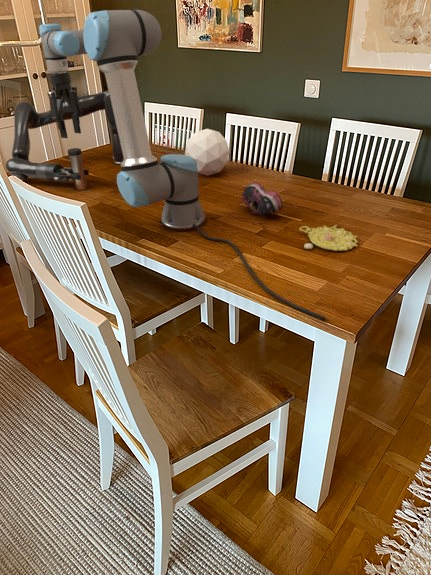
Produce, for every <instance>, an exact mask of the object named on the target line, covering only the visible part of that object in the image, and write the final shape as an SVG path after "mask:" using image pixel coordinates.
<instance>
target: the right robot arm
mask: <svg viewBox="0 0 431 575" xmlns="http://www.w3.org/2000/svg"><path fill="white" fill-rule="evenodd" d="M38 26H39V27H38V29H39V37H40V40H41V44H42V50H43V55H44V58H45V59H44V60H45V64H46V69H47V72H48V78H49V83H50V84H51V85H52V90H50V91H47V93H46V94H47V96H48V100H49V107H50V108H49V110H51V117H52V120H55V121H57V122H56V125H57V129H58V130H59V134H60V135H59V136H60V138H61V139H68V138H69V137H68V133H67V127H66V122H65V120H62V117H63V103H64V99H65V100H66V102H67V104H68V106H69V108H70V110H71V112H72V114H73V115H74V116H72V119H71V120H72V126H73V131H74V134H82V130H81V121H80V120H81V119H80V118H79V116H81V113H82V110H81V106H80V102H79V99H78V96H79V95H78V88H77V86H71V83H72V78H71V74H70V72H69V70H70V69H69V63H68V57H74V56H80V55H87V57H88V58H89V59H90V61H93V62H96V67H97V69H98V70H99V71H100V72H101V73H103V74H104V78H105V81H106V82H105V83H106V87H107V90H108V91H109V95H110V100H111V104H112V108H113V113H114V117H115V122H116V126H117V130H118V135H119V139H120V144H121V148H122V152H123V157H124V160H123V162H122V163H121V164H119V166H120V170H121V171H119V173H117V175H116V184H117V187H118V191H119V192H120V195H121V196H122V198H123V200H124V201H125V202H126V203H127V204H128V205H129V206H130V207H132V208H141V207H147V206H149V205H152V204H156V203H159V202H162V201H164V204H163V209H162V213H161V219H160V220H161V225H162V227H163V228H165V229H167V230H170V231H175V232H176V231H177V232H185V231H186V232H187V231H192V230H195V229H196V230H197V231H198V232H199V233H200V234H201V235H202V236H203V237H204V238H207V239H209V240H212V241H218V242H224V243H227V244H229V245H231V246H232V247H233V249H234V250H235V251H236V254H237V255H238V256H239V258H240V259H241V261H242V262H243V264H244V266H245V267H246V269H247V271H248V272H249V273H250V275H251V276H252V279H254V280H255V281H256V282H257V284H258V285H259V286H260V287H261V288H262V289H264V291H265V292H267V293H269V294H270V295H272V296H273V297H274V298H276V299H277V300H279V301H281V302H283V303H285V304H287V305H289V306H291V307H293V308H294V309H297V310H299V311H300V312H303V313H306V314H308V315H311V316H314V317H316V318H319V319H322V320H323V321H324V320H326V316H324V315H321V314H319V313H317V312H314V311H311V310H309V309H306V308H304V307H301V306H300V305H297V304H296V303H292V302H291V301H288V300H287V299H285V298H283V297H281V296H280V295H278V294H276V293H275V292H273V290H271V289H270V288H268V287H267V286H266V285H265V284H264V283H263V282H262V281H261V280H260V279H259V278H258V277H257V276H256V274H255V273H254V271H253V270H252V269H251V267H250V266H249V264H248V262H247V261H246V259H245V258H244V256H243V254H242V253H241V252H240V251H239V250H240V249H239V248H238V247H237V246H236V244H235V243H233V242H232V241H230V240H228V239H224V238H218V237H212V236H209V235H208V234H206V233H205V232H204V231H203V230H202V229H201V227H202V226H203V225H204V224H205V223H206V215H205V212H204V210H203V208H202V204H201V202H200V196H199V176H198V174H199V173H197V172H198V170H197V163H196V160H195V159H194V158H192V157H190V156H186V155H185V154H178V153H177V154H175V153H171V154H165V155H162V156H161V157H160V162H159V160H158V158H157V157H156V156H154V155H153V153H152V150H151V146H150V141H149V136H148V131H147V125H146V121H145V120H146V119H145V116H144V111H143V107H142V101H141V96H140V91H139V87H138V80H137V76H136V71H135V68H136V66H137V64H138V63H139V60H138V57H142V56H147V55H149V54H152V53H154V52H155V51H156V50H157V49H158V47H159V45H160V44H161V41H162V29H161V28H162V27H161V26H160V23H159V21H158V20H157V19H156V17H155V16H154V15H153V14H151V13H149V12H148V11H145V10H142V9H114V10H113V9H110V10H109V9H103V10H99V11H98V10H97V11H92V12H90V13H89V14H88V15H87V16H86V18H85V20H84V24H83V29H71V30H62V27H61V25H60V24H59V23H43V24H40V25H38Z"/></svg>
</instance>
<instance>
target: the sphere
mask: <svg viewBox="0 0 431 575" xmlns="http://www.w3.org/2000/svg"><path fill="white" fill-rule="evenodd" d="M230 153H231V151H230V148H229V145H228V142H227V139H226V138H225V137H224V136H223V135H222V133H221V132H220V131H217V130H214V129H210V128H205V129H202V130H201V129H200V130H199V131H195V132H194V133H193V134H192V135H191V136H190V137H189V139H188V140H187V143H186V146H185V151H184V155H186V156H190V157H192V158H194V159H195V160H196V163H197V170H198V172H197V173H198V174H199V175H204V176H207V177H209V176H212V175H215V174H218V173H220V172H221V171H222V170H223V169H224V167H225V166H226V165H227V162H228V159H229V156H230Z"/></svg>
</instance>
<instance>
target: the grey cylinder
mask: <svg viewBox="0 0 431 575" xmlns="http://www.w3.org/2000/svg"><path fill="white" fill-rule="evenodd" d="M69 160H70V161H69V162H70V166H72V171H73V174H79V175H80V176H81V180H74V185H75V189H76V190H77V191H84V190H87V189H88V185H87V180H86V175H85V174H84V169H85V168H84V164H83V158H82V154H81V155H77V156H69Z"/></svg>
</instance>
